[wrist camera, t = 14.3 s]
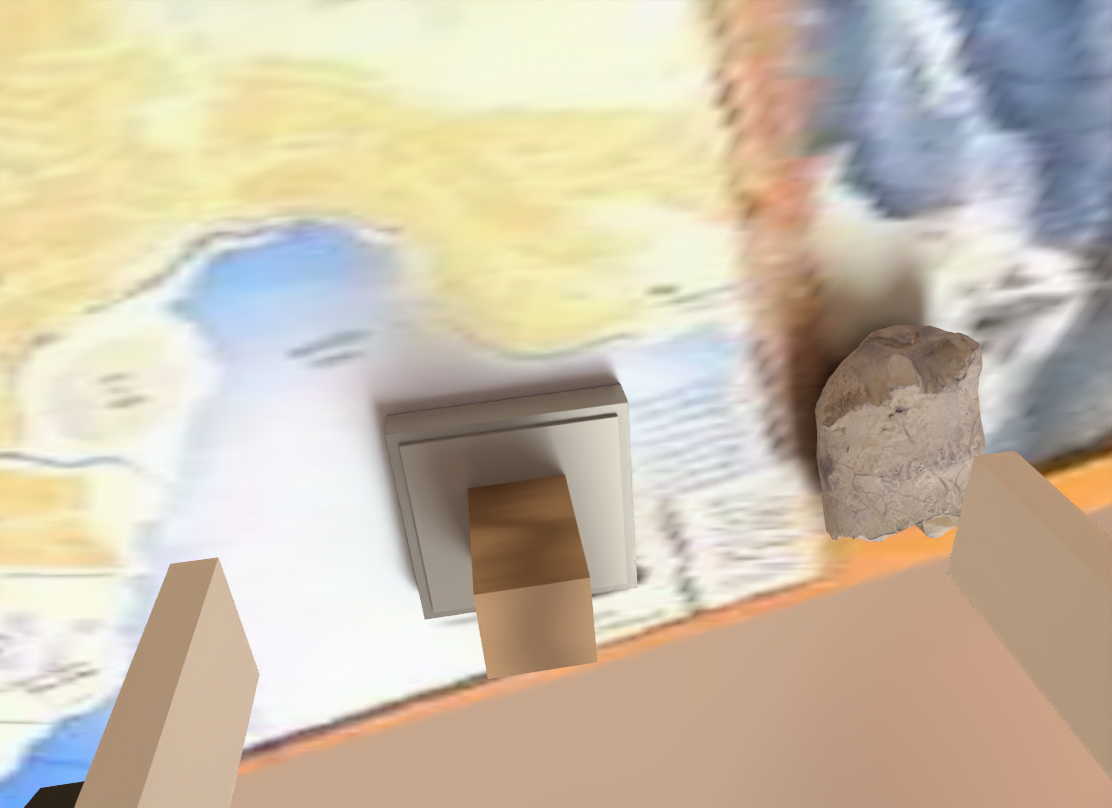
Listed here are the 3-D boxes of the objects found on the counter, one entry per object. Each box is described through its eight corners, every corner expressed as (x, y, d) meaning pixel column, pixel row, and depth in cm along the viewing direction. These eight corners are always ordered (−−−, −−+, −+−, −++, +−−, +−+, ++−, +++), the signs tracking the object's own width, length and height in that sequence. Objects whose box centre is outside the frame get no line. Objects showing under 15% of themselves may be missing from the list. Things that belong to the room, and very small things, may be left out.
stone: (934, 290, 43) (1014, 346, 37) (937, 475, 49) (1006, 550, 43) (783, 331, 43) (837, 393, 37) (804, 511, 49) (854, 590, 43)
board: (425, 595, 48) (424, 622, 46) (387, 415, 42) (384, 437, 40) (629, 564, 49) (638, 590, 47) (620, 384, 43) (629, 404, 41)
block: (480, 565, 45) (488, 679, 38) (467, 488, 42) (473, 595, 35) (572, 551, 45) (597, 662, 38) (565, 474, 42) (590, 577, 35)
